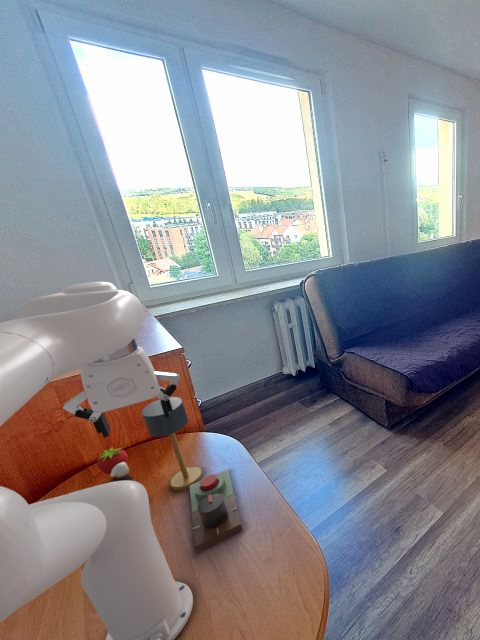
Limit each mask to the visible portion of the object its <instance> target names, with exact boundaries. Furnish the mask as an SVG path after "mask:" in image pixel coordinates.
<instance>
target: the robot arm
mask: <svg viewBox="0 0 480 640" xmlns="http://www.w3.org/2000/svg"><path fill="white" fill-rule="evenodd" d="M144 320H145V310H144V307H143V304H142V302H141V301H140V299H139V298H138V297H137V296H136V295H134V294H133V293H131V292H129V291H126V290H120V289H118V288H117V287H116V285H115V284H113V283H112V282H108V281H88V282H82V283H76V284H71V285H68V286H65V287H64V288H62V289H60V290H59V292H55V293H52V294H51V293H50V294H47V295H42V296H41V295H40V296H37V297H33V298H32V299H29V300H27V301H26V302H24V303H23V304H21V305H20V306H19V307H18V308H17V309H16V311H15V313H14V315H13V318H12V319H11V320H10V319H9V320H4V321H1V322H0V427H1V426H2V425H4V424H5V423H6V422H7V421H8V420H9V419H10V418H12V417H13V415H15V414H16V413H17V412H18V411H19V410H20V409H21V408H22V407H24V406H25V405H26V404H27V403H28V402H29V401H30V400H31V399H32V398H33V397H34V396H36V395H37V393H39V392H40V391H41V390H43V388H45V387H46V386H47V385H48V383H50V382H51V381H52V380H54V379H55V378H58V377H61V376H63V375H66V374H69V373H71V372H74V371H76V370H78V369H79V373H80V378H81V383H82V386H83V389H84V390H82V391H81V392H79V393H78V394H76V395H75V396H74V397H71V398H70V399H69V400H67V401H65V402H64V404H63V406H62V408H63V410H65V411H66V412H68V413H70V414H72V415H74V417H76V418H80V419H83V420H87V421H89V423H92V424H93V426H94V428H95V430H96V431H95V432H96V433H97V434H102V437H103V438H104V439H106V438H108V437H109V436H110V432H111V427H110V424H109V421H108V420H107V417H106V415H105V412H110V411H113V410H118V409H120V408H124V407H125V408H126V407H129V406H131V405H136V404H139V403H142V402H145V401H149V400H151V399H154V398H156V399H158V400H160V401H161V406H162V409H163V412H164V415H165V418H169V417H170V413H169V411H173V409H172V405H171V402H170V397H172V395H173V394H174V393H175V391H176V390H177V388H178V385H179V382H180V378H181V377H180V374H179V373H173V372H164V371H155V370H156V369H155V368H154V366H153V364H152V362H151V360H150V358H149V356H148V355H147V353H146V351H145V350H144V349H143V347H141V346H138V344H137V341H136V337H137V335H138V334H139V333H140V331H141V329H142V327H143V324H144ZM159 381H168V382H169V384H168V385H167V386H166V388H164V387H161V386H160V382H159ZM86 400H87V402H88V404H89V407H90V408H87V407H84V406H83V407H82V406H81V405H80V404H82V403H83V402H85V401H86ZM83 564H84V565H83ZM82 565H83V568H82V570H81V575H80V584H81V587H82V590H83V592H84V593H85V595H86V596H87V599H88V600H89V601H90V603H91V605H92V607H93V608H94V610H95V612H96V614H97V615H98V617H99V619H100V620H101V622H102V625H104V627H105V630H106V631H107V634H106V637H105V640H175V639H176V638H177V636H178V635H180V633H181V632H182V630H183V629H184V627H185V626H186V624H187V622H188V621H189V618H190V616H191V614H192V611H193V608H194V607H193V606H194V595H193V592H192V589H190V587H189V585H187V584H186V583H184V582H181V581H176V580H175V578H174V576H173V573H172V571H171V569H170V566H169V564H168V562H167V559H166V556H165V553H164V552H163V550H162V547H161V545H160V543H159V540H158V538H157V535H156V532H155V530H154V526H153V523H152V518H151V510H150V501H149V495H148V492H147V489H146V487H145V486H144V485H143V484H142V483H140V482H139V481H137V480H134V481H130V480H123V481H115V482H113V481H110V482H105V483H102V484H97V485H94V486H91V487H87V488H83V489H79V490H76V491H72V492H68V493H67V494H62V495H58V496H55V497H50V498H47V499H44V500H40V501H36V502H33V503H28V502H27V500H26V499H25V498H24V497H23V496H22V495H20V494H19V493H17V492H16V491H15V490H12V489H11V488H9V487H5V486H2V485H0V623H1V622H3V621H4V620H6V619H7V618H8V617H9V616H11V615H12V614H14V613H15V612H16V611H17V610H19V609H20V608H22V607H24V606H25V605H27V604H28V603H30V602H31V601H33V600H34V599H36V598H37V597H38V596H40V595H41V594H43V593H45V592H46V591H48V590H49V589H50V588H52V587H53V586H55V585H56V584H58V583H59V582H61V581H62V580H63V579H65V578H67V577H68V576H70V575H71V574H73V573H74V572H75V571H76V570H78V569H79V568H80V567H81V566H82Z"/></svg>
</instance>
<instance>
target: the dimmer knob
mask: <svg viewBox="0 0 480 640" xmlns="http://www.w3.org/2000/svg"><path fill="white" fill-rule="evenodd" d="M198 511H199V514H200V517H201V520H202V523H203V526H204V527H205V528H214V527H217V526H219V525H220V524H222V523H223V522H224V521H225V520H226V518H227V516H228V512H227V508H226V505H225V501H224V498H223V496H222V495H221V494H213V495H211V494H210V495H208V497H206V498H205V499H203V500H202V501H201V502H200V504H199V506H198Z"/></svg>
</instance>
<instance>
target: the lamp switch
mask: <svg viewBox="0 0 480 640" xmlns="http://www.w3.org/2000/svg"><path fill="white" fill-rule="evenodd" d="M215 475H216V474H210V475H206V476H205V477H203V478H201V480H202V481H201V480H200V481H201V482H200V485H201V488H202V490H203V491H209V490H211V489H213V488H215V487H216V486H217V485H218V480H217V477H216V476H215Z"/></svg>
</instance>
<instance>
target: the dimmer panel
mask: <svg viewBox="0 0 480 640" xmlns="http://www.w3.org/2000/svg"><path fill="white" fill-rule="evenodd" d="M234 496H235V494H234V495H232V496H229V497H227V498H225V499H224V501H225V505H226V508H227V512H228V516H227V518H226V520H225V521H224V522H223V523H222V524H220V525H219V526H217V527H214V528H205V527H204V526H203V523H202V520H201V517H200V514H199V511H196V512H194V513H192V512H191V514H190V515H191V523H192V528H191V531H192V535H193V546H194V550H195V552H196V554H199V553H200V552H202V551H204V550H206V549H208V548H210V547H212V546H214V545H216V544H218V543H221V542H222V541H224V540H225V539H226V540H227V539H228V538H230V537H232V536H234V535H236V534H238V533H239V532H242V531H243V530H244V529H243V525H242V521H241V518H240V513H239V510H238V509H239V508H238V505H237V501H236V496H235V497H234Z"/></svg>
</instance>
